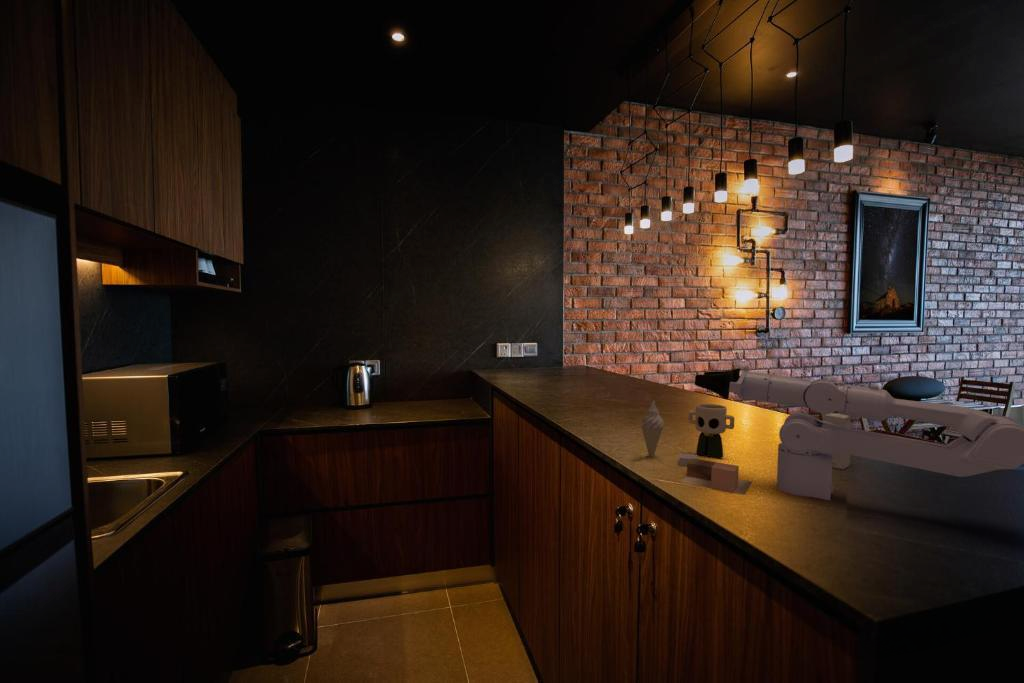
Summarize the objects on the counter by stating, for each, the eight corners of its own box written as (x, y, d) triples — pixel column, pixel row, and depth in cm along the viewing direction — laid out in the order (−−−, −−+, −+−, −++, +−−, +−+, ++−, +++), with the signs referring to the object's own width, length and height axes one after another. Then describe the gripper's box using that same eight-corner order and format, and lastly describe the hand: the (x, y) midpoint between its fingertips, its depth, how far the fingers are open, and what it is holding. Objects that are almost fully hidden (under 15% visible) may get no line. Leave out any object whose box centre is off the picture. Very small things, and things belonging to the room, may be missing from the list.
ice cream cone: (657, 464, 114) (659, 401, 113) (637, 460, 117) (638, 399, 116) (665, 459, 118) (666, 399, 117) (645, 456, 121) (646, 396, 120)
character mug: (682, 456, 120) (684, 405, 120) (691, 450, 126) (693, 401, 125) (729, 465, 114) (730, 410, 113) (736, 458, 119) (738, 406, 119)
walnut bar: (726, 476, 102) (726, 464, 102) (721, 482, 99) (722, 469, 99) (692, 470, 106) (692, 458, 106) (686, 476, 103) (687, 463, 103)
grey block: (697, 467, 112) (697, 454, 112) (697, 472, 109) (698, 459, 108) (679, 465, 114) (679, 453, 114) (679, 470, 110) (679, 457, 110)
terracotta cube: (737, 486, 96) (738, 465, 96) (733, 492, 93) (734, 471, 93) (715, 482, 99) (716, 462, 99) (711, 488, 95) (711, 467, 95)
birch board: (752, 486, 100) (752, 481, 99) (744, 499, 92) (744, 494, 92) (692, 475, 106) (692, 470, 106) (680, 486, 99) (680, 481, 99)
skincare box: (844, 470, 111) (846, 418, 111) (821, 465, 114) (823, 415, 114) (850, 464, 115) (852, 414, 115) (828, 460, 119) (830, 411, 118)
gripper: (776, 366, 103) (709, 358, 111) (767, 371, 91) (693, 362, 99) (772, 398, 104) (706, 388, 111) (762, 408, 92) (689, 396, 99)
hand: (699, 378), depth 105 cm, fingers open, 7 cm apart
